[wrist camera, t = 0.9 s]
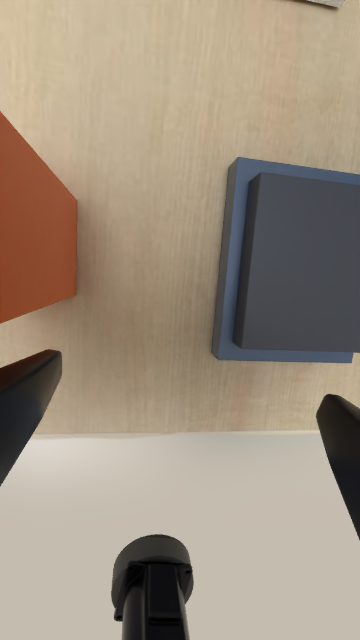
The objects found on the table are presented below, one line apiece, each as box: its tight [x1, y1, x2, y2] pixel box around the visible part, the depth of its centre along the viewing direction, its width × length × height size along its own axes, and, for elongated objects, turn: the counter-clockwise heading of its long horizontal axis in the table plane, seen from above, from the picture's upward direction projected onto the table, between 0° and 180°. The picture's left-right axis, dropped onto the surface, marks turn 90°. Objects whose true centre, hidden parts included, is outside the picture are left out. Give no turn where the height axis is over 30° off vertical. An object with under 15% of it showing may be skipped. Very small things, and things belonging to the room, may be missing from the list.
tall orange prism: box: [0, 112, 77, 323], centre depth 15 cm, size 7×4×12 cm, turn 176°
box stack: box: [212, 157, 360, 363], centre depth 22 cm, size 15×12×4 cm
